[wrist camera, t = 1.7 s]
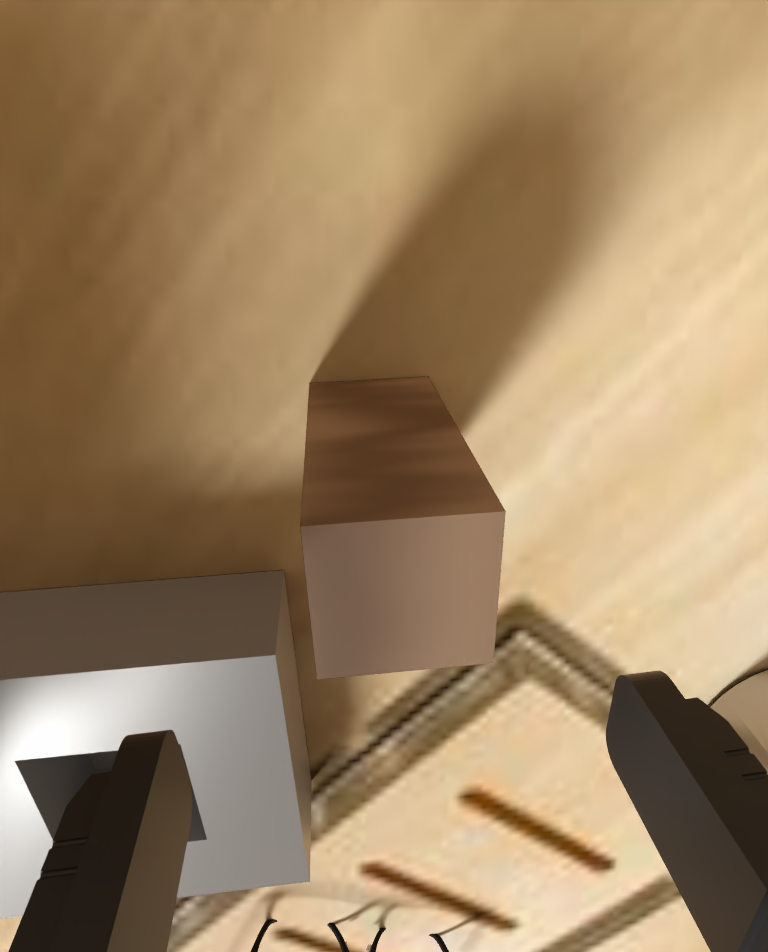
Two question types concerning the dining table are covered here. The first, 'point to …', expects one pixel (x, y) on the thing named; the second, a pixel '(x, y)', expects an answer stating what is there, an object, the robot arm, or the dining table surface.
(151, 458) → the dining table surface
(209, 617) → the socket
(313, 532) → the peg
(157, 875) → the robot arm
